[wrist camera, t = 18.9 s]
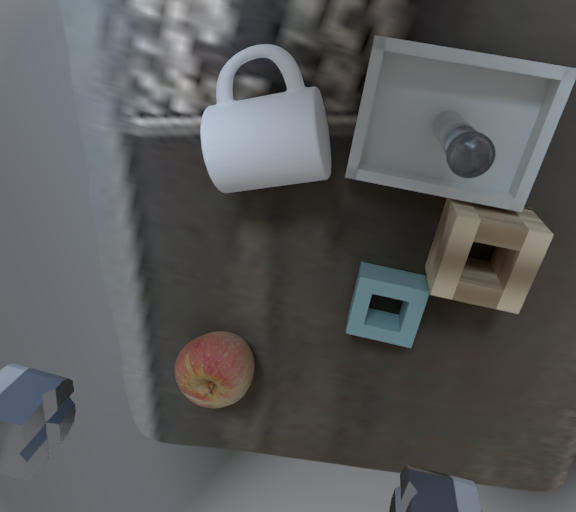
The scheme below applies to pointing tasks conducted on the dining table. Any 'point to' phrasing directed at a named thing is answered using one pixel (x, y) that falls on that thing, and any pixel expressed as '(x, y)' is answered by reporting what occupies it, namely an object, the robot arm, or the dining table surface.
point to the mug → (265, 130)
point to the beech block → (504, 262)
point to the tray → (469, 104)
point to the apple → (215, 369)
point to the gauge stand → (380, 322)
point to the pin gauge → (463, 145)
